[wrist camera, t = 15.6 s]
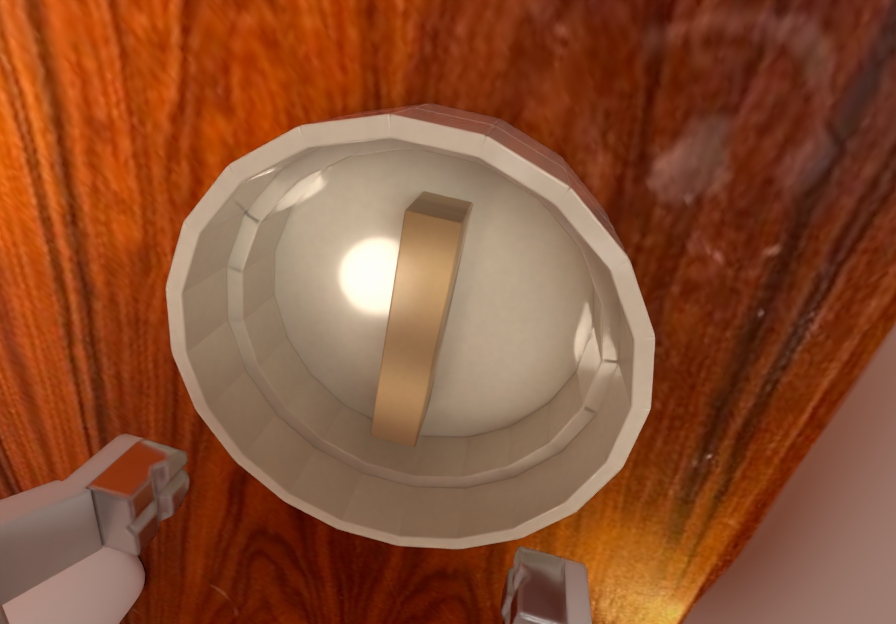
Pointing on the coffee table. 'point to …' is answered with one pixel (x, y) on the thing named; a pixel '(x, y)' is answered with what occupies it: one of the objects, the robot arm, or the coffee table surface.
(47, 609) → the cup
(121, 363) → the coffee table surface
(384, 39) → the coffee table surface
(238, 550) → the coffee table surface
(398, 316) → the tan wooden bar
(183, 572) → the coffee table surface
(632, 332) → the bowl
